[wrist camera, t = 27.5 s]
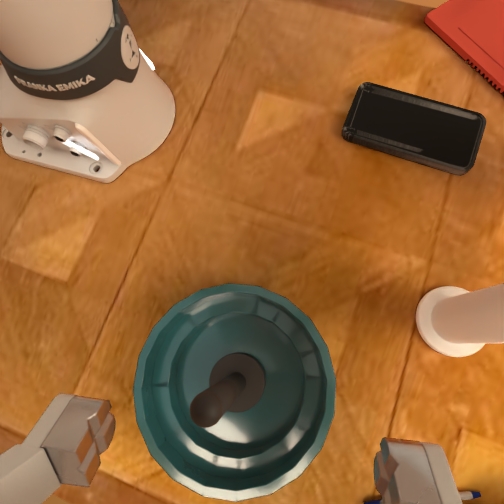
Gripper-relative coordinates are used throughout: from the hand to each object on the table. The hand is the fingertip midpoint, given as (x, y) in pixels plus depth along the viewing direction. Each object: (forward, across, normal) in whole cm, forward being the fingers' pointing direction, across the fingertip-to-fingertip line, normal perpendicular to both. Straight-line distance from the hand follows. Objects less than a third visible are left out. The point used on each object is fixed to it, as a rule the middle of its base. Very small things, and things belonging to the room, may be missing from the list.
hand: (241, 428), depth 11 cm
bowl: (+18, +2, +20) cm, 27 cm away
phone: (+39, -14, -1) cm, 42 cm away
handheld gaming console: (+44, -29, -7) cm, 53 cm away
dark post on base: (+17, +2, +20) cm, 26 cm away
